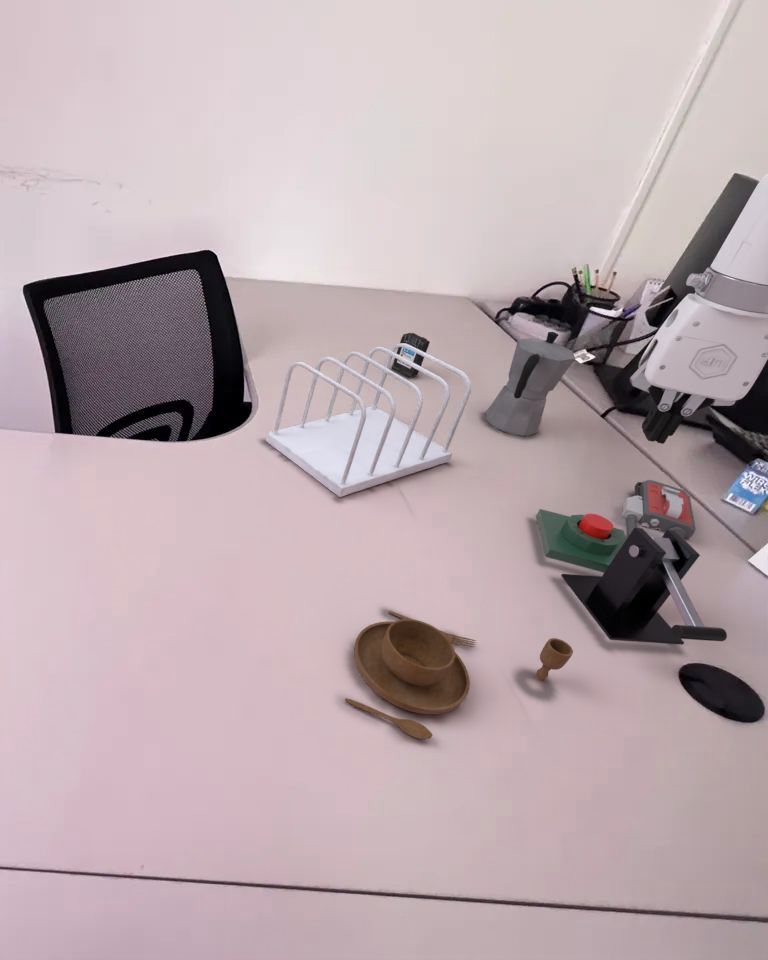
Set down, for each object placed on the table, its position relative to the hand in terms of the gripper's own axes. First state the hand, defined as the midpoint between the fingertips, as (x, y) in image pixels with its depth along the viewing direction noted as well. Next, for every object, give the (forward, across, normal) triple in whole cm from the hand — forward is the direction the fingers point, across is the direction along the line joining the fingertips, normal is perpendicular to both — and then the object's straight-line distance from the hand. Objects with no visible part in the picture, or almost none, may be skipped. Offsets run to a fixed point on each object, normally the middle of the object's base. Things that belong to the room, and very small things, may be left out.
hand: (652, 437), depth 83 cm
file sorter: (+19, -32, +12) cm, 39 cm away
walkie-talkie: (+19, +12, +12) cm, 26 cm away
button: (+15, 0, 0) cm, 15 cm away
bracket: (+19, +2, -12) cm, 22 cm away
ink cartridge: (+19, -25, +50) cm, 59 cm away
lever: (+11, +3, -16) cm, 20 cm away
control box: (+19, 0, 0) cm, 19 cm away
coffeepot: (+19, -6, +36) cm, 41 cm away
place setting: (+19, -19, -34) cm, 43 cm away
